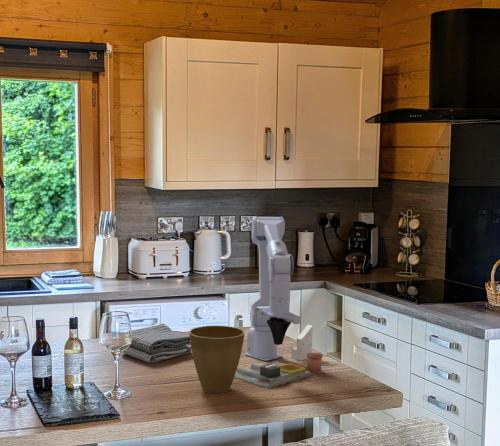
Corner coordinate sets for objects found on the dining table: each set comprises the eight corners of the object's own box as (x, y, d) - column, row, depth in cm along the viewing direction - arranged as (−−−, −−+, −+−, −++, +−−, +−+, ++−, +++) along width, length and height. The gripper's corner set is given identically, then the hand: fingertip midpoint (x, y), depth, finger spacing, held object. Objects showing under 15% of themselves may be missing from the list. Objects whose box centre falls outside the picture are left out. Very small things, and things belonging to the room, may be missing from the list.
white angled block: (319, 346, 241) (312, 325, 237) (303, 367, 235) (295, 346, 231) (310, 344, 243) (303, 323, 239) (293, 365, 237) (286, 344, 233)
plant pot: (254, 390, 204) (256, 332, 203) (212, 402, 194) (214, 341, 192) (218, 377, 215) (219, 322, 213) (177, 387, 205) (178, 329, 203)
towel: (118, 355, 235) (119, 330, 235) (163, 345, 249) (163, 321, 248) (150, 365, 225) (150, 340, 224) (195, 354, 238) (195, 330, 238)
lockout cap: (303, 370, 223) (303, 354, 222) (313, 368, 226) (313, 351, 226) (315, 374, 220) (315, 357, 219) (325, 371, 223) (325, 355, 222)
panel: (232, 376, 216) (232, 368, 216) (275, 364, 229) (275, 356, 228) (267, 388, 206) (268, 379, 206) (310, 375, 219) (310, 367, 218)
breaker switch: (260, 377, 212) (260, 365, 212) (269, 374, 215) (270, 362, 215) (270, 380, 209) (270, 368, 209) (280, 377, 212) (280, 365, 212)
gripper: (251, 294, 216) (250, 341, 217) (288, 303, 205) (287, 351, 207) (269, 291, 221) (267, 337, 222) (306, 300, 210) (304, 347, 212)
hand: (278, 344), depth 215 cm, fingers closed
